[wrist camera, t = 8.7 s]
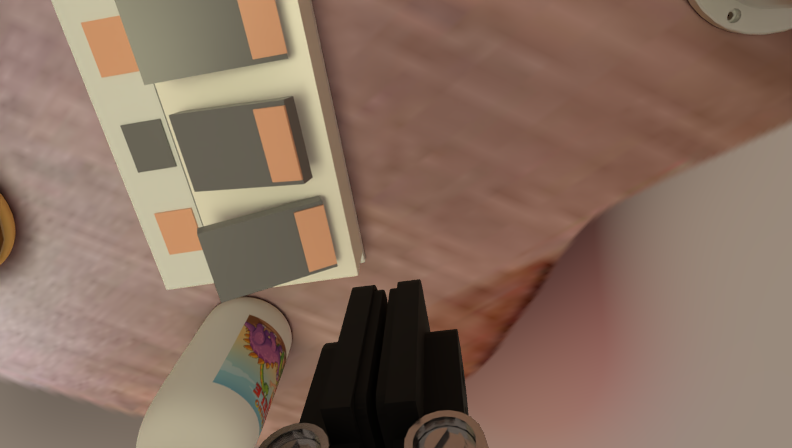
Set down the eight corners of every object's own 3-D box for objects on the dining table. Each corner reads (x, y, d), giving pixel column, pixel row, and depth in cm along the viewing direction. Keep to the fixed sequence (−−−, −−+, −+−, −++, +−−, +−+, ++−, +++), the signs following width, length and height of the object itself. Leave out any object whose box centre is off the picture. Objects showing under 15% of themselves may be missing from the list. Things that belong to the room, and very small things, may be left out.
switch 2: (318, 195, 33) (322, 200, 32) (333, 260, 35) (338, 267, 34) (197, 228, 31) (197, 235, 30) (220, 294, 33) (221, 304, 32)
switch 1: (264, -34, 27) (266, -38, 26) (286, 58, 29) (288, 58, 28) (114, -13, 26) (108, -16, 24) (147, 83, 28) (143, 85, 26)
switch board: (296, -73, 31) (275, -91, 26) (365, 257, 40) (359, 291, 35) (49, -25, 32) (-16, -33, 27) (170, 284, 41) (139, 321, 36)
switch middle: (293, 95, 28) (282, 100, 27) (312, 177, 30) (303, 184, 29) (181, 111, 30) (166, 115, 29) (206, 185, 32) (193, 192, 31)
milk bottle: (213, 365, 45) (80, 607, 26) (201, 293, 42) (40, 509, 23) (296, 366, 45) (221, 610, 26) (290, 294, 42) (199, 512, 23)
